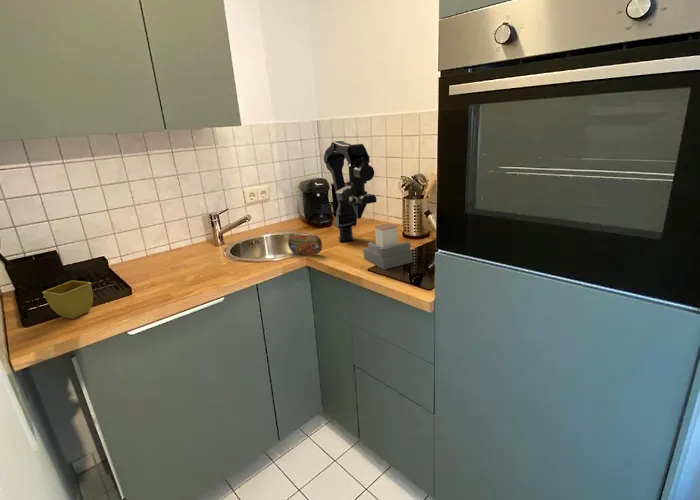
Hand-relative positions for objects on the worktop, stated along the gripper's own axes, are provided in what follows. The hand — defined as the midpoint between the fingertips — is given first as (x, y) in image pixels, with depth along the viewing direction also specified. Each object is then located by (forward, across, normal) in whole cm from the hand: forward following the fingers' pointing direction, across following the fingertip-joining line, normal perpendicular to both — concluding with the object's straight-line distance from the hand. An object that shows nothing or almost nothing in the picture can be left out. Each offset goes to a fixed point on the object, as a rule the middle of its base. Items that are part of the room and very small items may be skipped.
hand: (359, 218), depth 148 cm
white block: (+9, +17, +2) cm, 19 cm away
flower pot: (+13, 0, -97) cm, 98 cm away
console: (+13, +17, +2) cm, 22 cm away
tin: (+13, -10, -20) cm, 26 cm away
